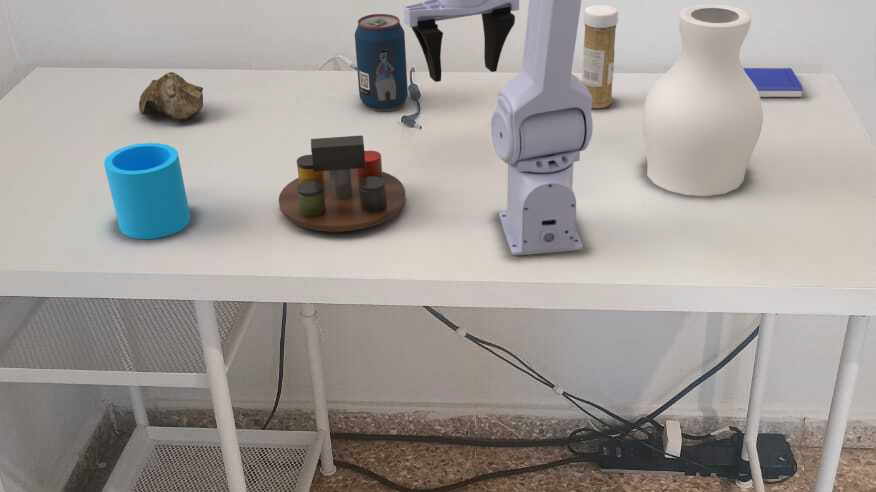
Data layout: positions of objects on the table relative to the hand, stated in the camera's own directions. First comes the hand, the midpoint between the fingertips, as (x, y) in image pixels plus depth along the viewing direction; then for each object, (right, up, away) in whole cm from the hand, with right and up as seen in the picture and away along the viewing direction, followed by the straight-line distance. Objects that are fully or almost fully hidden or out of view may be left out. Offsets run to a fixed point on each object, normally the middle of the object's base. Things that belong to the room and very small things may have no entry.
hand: (463, 74), depth 131 cm
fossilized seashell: (-41, -1, +17) cm, 45 cm away
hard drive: (+42, +4, +21) cm, 48 cm away
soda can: (-11, +1, +19) cm, 22 cm away
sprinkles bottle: (+19, 0, +18) cm, 26 cm away
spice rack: (-14, -18, -7) cm, 24 cm away
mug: (-36, -19, -7) cm, 42 cm away
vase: (+29, -13, -1) cm, 32 cm away
